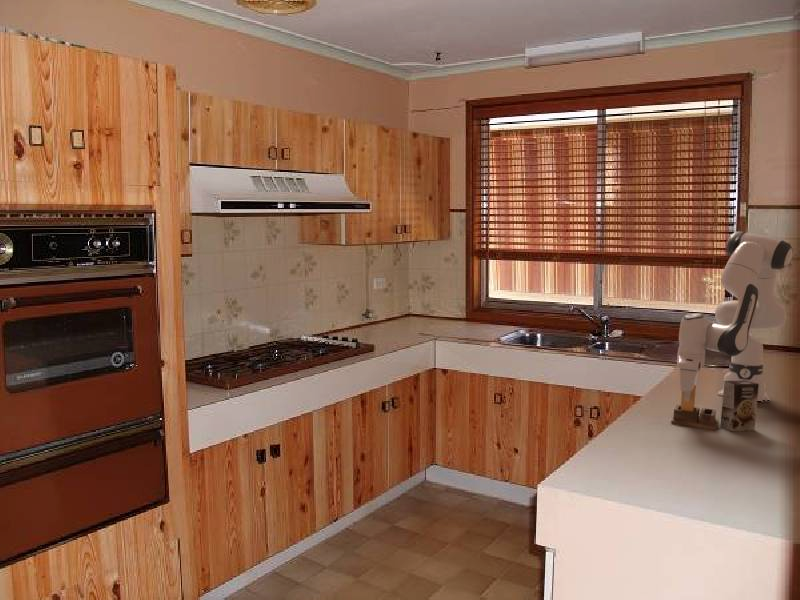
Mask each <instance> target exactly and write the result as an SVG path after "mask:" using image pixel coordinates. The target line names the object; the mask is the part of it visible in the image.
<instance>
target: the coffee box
mask: <svg viewBox="0 0 800 600" xmlns="http://www.w3.org/2000/svg"><path fill="white" fill-rule="evenodd" d="M723 381H724V380H723ZM723 385H724V386H723V387H724V392H723V396H722V403H721V404H722V405H721V406H722V407H721V414H720V427H721V428H724V429H725V430H728V431H731V432H743V431H744V430H748V431H755V430H756V419H757V418H756V417H757V407H758V402H757V398H758V387H759V384H757V383H754V382H750V381H746V380H738V381H724V382H723ZM744 432H745V431H744Z"/></svg>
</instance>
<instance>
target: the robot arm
mask: <svg viewBox="0 0 800 600" xmlns="http://www.w3.org/2000/svg"><path fill="white" fill-rule="evenodd" d="M725 247H726V248H725V251H726V252H725V253H726V255H728V257H729V259H728V261H727V262H726V265H725V266H724V269H723V271H722V273H721V276H720V281H721V285H722V287H723V289H725V291H726V292H728V293H729V294H730V295H732V296H733V297H735V298H736V299H737V300H736V299H735V300H725V301H721V302H720V303H719V304H718V305H717V307H716V308H715V312H714V316H715V320H716V322H714V321H711V320H710V319H708V317H706V315H705V314H704V313H696V312H695V313H694V312H693V313H688V314H685V315H683V316H682V318H681V321H680V325H679V331H678V332H679V333H678V342H679V346H678V349H677V357H676V358H677V359H676V365H677V368H678V369H679V387H680V391H681V392H682V391H683V392H684V396H685V397H684V401H687V402H689V401H690V395H691V392H692V390H693V388H694V386H695V385H696V384H697V383H698V378H699V377H698V376H699V372H700V371H701V368H703V367H705V363H706V350H708V351H712V352H717V353H721V354H724V355H727V356H730V357H731V358H730V360H731V361H730V362H729V364H728V365H729V369H728V370H729V372H727V373H726V374H725V375H724V378H723V381H738V380H746V381H750V382H754V383H757V384H759V387H758V398H757V401H761V402H763V401H762V400H770V401H771V397H769V396H768V395H767V393H766V391H767V388H766V386H767V385H766V384H767V381H766V379H765V377H764V376H763V372H764V365H763V357H764V356H763V355H764V346H763V343H762V342H761V341H760V340H758V339H756V338H755V337H753V336H751V335H750V334H749V331H750V330H766V331H767V330H776V329H781V328H783V326H784V325H785V323H786V322H787V318H788V313H787V309H786V308H785V307H784V305H782V304H781V303H780V302H779V301H777V299H776V297H775V293H774V290H775V288H774V287H775V283H776V282H775V281H776V277H777V274H778V273H777V272H778V270H783V269H785V268H786V267H787V266H788V265H789V264H790V262H791V260H792V258H793V247H792V245H791V244H790V243H789V242H788V241H784V240H779V239H778V238H775V237H771V236H769V235H765V234H764V235H762V234H756V233H752V232H746V231H742V230H741V231H735V232H733V233H731V235H730V236H729V238H728V240H727V242H726V246H725ZM722 387H723V388H722V389H721V390H718V392H717V395H719V396H721V397H723V392H724V384H723V386H722Z"/></svg>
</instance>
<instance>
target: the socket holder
mask: <svg viewBox="0 0 800 600" xmlns="http://www.w3.org/2000/svg"><path fill="white" fill-rule="evenodd" d="M700 409H701V410H700ZM716 413H717V409H713V408H707V407H702V408H700V407H695V406H694V412H692V411H685V410H681V404H680V405H679V404H676V405H675V408H674V409H673V417H672V419H671V420H670V424H671V423H672V424H671V425H676V424H679V425H678V426H683V425H684V426H685V427H690V426H691V427H692V428H696V429H697V428H698V429H703V428H704V430H710V429H711V430H712V431H716V429H717V425H718V423H719V418H716V417H717V416H716V415H717V414H716Z"/></svg>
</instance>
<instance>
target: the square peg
mask: <svg viewBox="0 0 800 600" xmlns="http://www.w3.org/2000/svg"><path fill="white" fill-rule="evenodd" d="M696 387H697V385H696V384H695V386H694V388H693V390H692V392H691V395H690V401H689V402H687V401H684V397H685V396H684V392H683V391H681V401H680V405H681V410H685V411H692V412H694V407H695V406H696V405H695V402H696V401H695V400H696Z"/></svg>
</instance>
